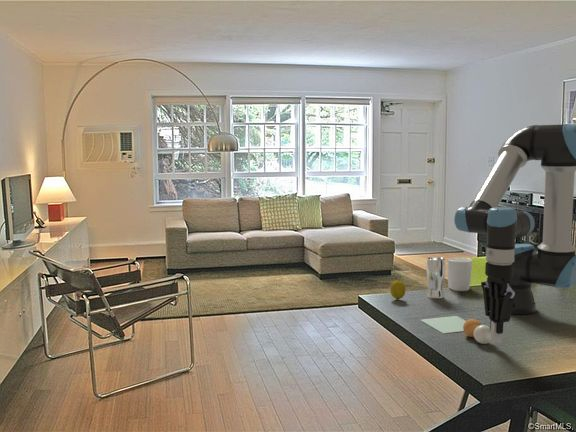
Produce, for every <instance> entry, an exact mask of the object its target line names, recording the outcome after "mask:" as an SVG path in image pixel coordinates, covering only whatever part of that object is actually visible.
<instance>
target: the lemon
mask: <svg viewBox="0 0 576 432" xmlns="http://www.w3.org/2000/svg"><path fill="white" fill-rule="evenodd" d="M390 294H391V296H392V297H393V298H394V299H395V300H396V301H399V300H401V299H402V298H403V297H404V296H405V294H406V285H405V283H404V282H403V281H401V280H400V279H395V280H394V281H393V282H392V283H391V285H390Z"/></svg>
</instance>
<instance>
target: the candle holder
mask: <svg viewBox="0 0 576 432" xmlns="http://www.w3.org/2000/svg"><path fill="white" fill-rule="evenodd" d="M473 262H474V260H473V259H471V258H468V257H462V256H461V257H460V256H459V257H458V256H454V257H448V258H447V287H448V289H449V288H451V289H452V291H456V292H457V291H458V292H467V291H469V290H470V288H471V280H472V279H471V278H472V268H473ZM451 289H450V290H451Z"/></svg>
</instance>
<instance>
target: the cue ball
mask: <svg viewBox="0 0 576 432" xmlns="http://www.w3.org/2000/svg"><path fill="white" fill-rule="evenodd" d="M490 337H491V330H490V326H488V325H485V324H481V325H480V326H478V327H476V328H475V330H474V337H473V338H474V340H475V341H476V342H477V343H479V344H481V345H487V344H489V343H490Z"/></svg>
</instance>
